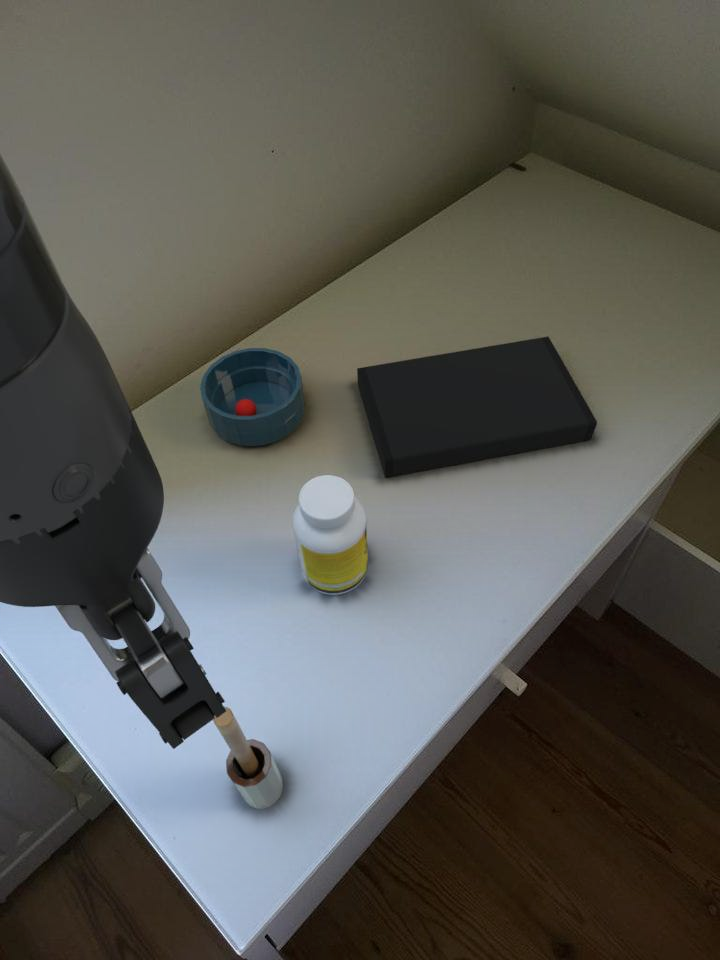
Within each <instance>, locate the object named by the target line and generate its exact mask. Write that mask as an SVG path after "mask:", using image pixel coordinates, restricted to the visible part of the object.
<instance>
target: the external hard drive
mask: <svg viewBox="0 0 720 960" xmlns="http://www.w3.org/2000/svg"><path fill="white" fill-rule="evenodd" d="M356 375H357V388H358V391H359V394H360V398H361V401H362V404H363V408H364V411H365V415H366V418H367V421H368V425H369V428H370V429H369V430H370V432H371V435H372V438H373V442H374V445H375V446H374V447H375V449H376V453H377V455H378V459H379V462H380V466H381V470H382V473H383V476H384V478H390V477H394V476H395V477H396V476H400V475H406V474H411V473H412V474H413V473H416V472H422V471H428V470H433V469H439V468H443V467H449V466H455V465H460V464H465V463H470V462H476V461H477V462H478V461H482V460H486V459H492V458H493V459H494V458H497V457H498V458H499V457H503V456H504V457H505V456H510V455H514V454H520V453H525V452H531V451H537V450H543V449H547V448H552V447H559V446H563V445H568V444H575V443H580V442H585V441H590V440H592V438H593V435H594V433H595V429H596V427H597V424H598V421H597V419H596V417H595V416H594V414H593V411H592V410H591V408H590V407H589V405H588V403H587V402H586V400H585V397H584V396H583V394H582V392H581V391H580V389H579V387H578V385H577V384H576V382H575V379H573V377H572V375H571V373H570V371H569V370H568V368H567V366H566V364H565V363H564V361H563V359H562V358H561V356H560V354H559V351H557V349H556V347H555V345H554V344H553V341H552V340H551V338H550V336H543V337H536V338H531V339H525V340H518V341H513V342H507V343H501V344H495V345H488V346H483V347H477V348H471V349H465V350H458V351H452V352H445V353H441V354H434V355H429V356H422V357H416V358H410V359H404V360H399V361H393V362H392V361H391V362H386V363H381V364H375V365H369V366H363V367H362V366H361V367H357V368H356Z"/></svg>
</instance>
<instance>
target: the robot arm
mask: <svg viewBox="0 0 720 960" xmlns="http://www.w3.org/2000/svg"><path fill="white" fill-rule="evenodd" d="M10 170H11V169H9V167H8V165H7V163H6V162H5V159H4V158H3V156H2V154H1V153H0V603H2V604H5V605H10V606H15V607H22V608H23V607H24V608H41V607H43V608H44V607H54V606H55V608H56V609H57V611H58V613H59V614H60V615H61V617H62V619H63V620H64V621H65V623H66V624H67V626H68V627H69V628H70V630H72V631H76V632H80V633H81V634H82V635H83V636H84V638H85V639H86V640H87V642H88V644H89V645H90V647H91V648H92V650H93V651H94V652H95V654H96V656H97V657H98V658H99V660H100V661H101V663H102V664H103V665H104V667H105V669H106V670H107V671H108V673H109V674H110V676H111V677H112V679H113V680H115V681H116V685H117V688H118V689H119V690H120V692H121V693H122V695H123V696H125V695H126V694H127V696H128V697H129V698H130V699H131V701H132V702H133V703H134V704H135V705H136V706H137V708H138V709H139V710H140V712H142V713H143V715H144V716H145V717H146V718H147V720H149V722H150V723H151V725H153V727H154V728H155V729H156V730H157V731H158V734H159V737H160V738H161V740H162V741H163V743H164V744H168V745H169V746H170V747H171V749H173V750H175V749H176V748H178V747H179V746H181V745H182V744H183V743H184V742H185V740H187V739H188V738H190V737H191V736H192V735H194V734H196V732H197V731H199V730H201V729H202V728H204V727H205V726H206V725H208V724H209V723H210V722H212V721H213V719H215V717H214V715H215V716H216V718H218V717H219V716H221V715H222V714H223V713H225V712H226V710H225V708H224V707H225V706H224V705H223V704H224V703H226V701H225V699H224V698H223V696H222V694H221V692H220V691H215V690H214V688H213V686H212V684H211V683H210V681H209V680H208V678H207V676H206V675H207V672H206V670H205V668H203V666H202V664H200V663H198V661H197V659H196V658H195V656H194V654H193V652H192V650H194V646H193V645H192V643H191V641H190V640H189V639H190V637H191V630H190V627H189V626H188V624H187V622H186V621H185V619H184V617H183V616H182V614H181V613H180V611H179V610H178V607H177V606H176V604H175V603H174V601H173V600H172V597H170V595H169V593H168V592H167V590H166V588H165V587H164V585H163V581H162V580H163V572H162V569H161V568H160V566H159V564H158V563H157V561H156V560H155V558H154V556H153V554H152V553H151V552H150V550H149V548H148V547H149V545H150V544H151V542H152V541H153V539H154V537H155V535H156V533H157V531H158V529H159V526H160V523H161V521H162V516H163V511H164V504H165V492H164V491H165V490H164V484H163V481H162V476H161V474H160V471H159V469H158V467H157V465H156V462H155V461H154V459H153V456H152V454H151V452H150V450H149V448H148V445H147V443H146V441H145V439H144V436H143V434H142V432H141V430H140V428H139V425H138V423H137V421H136V419H135V416H134V414H133V412H132V410H131V407H130V405H129V403H128V401H127V399H126V396H125V394H124V393H123V390H122V388H121V387H122V386H120V383H119V380H118V379H117V376H116V374H115V372H114V370H113V368H112V366H111V363H110V361H109V359H108V357H107V355H106V352H105V350H104V349H103V347H102V345H101V343H100V341H99V339H98V337H97V335H96V334H95V332H94V331H93V329H92V327H91V325H90V324H89V322H88V321H87V319H86V318H85V317H84V315H83V314H82V312H81V311H80V309H79V308H78V307H77V305H76V303H75V302H74V300H73V299H72V297H71V296H70V293H69V291H68V290H67V288H66V286H65V285H64V282H63V281H62V278H61V275H60V273H59V271H58V269H57V267H56V265H55V262H54V260H53V258H52V256H51V254H50V251H49V249H48V247H47V246H46V243H45V240H44V239H43V236H42V234H41V233H40V230H39V228H38V226H37V224H36V222H35V220H34V217H33V215H32V212H31V211H30V209H29V206H28V205H27V202H26V200H25V198H24V196H23V195H22V192H21V189H20V188H19V186H18V184H17V182H16V180H15V177H14V176H13V174H12V172H11V171H10ZM155 601H156V602H155ZM156 603H157V605H158V606H159V608H160V609H161V611H162V613H163V620H162V622H161V623H160V624H159V625H158V627H156V628H154V629H151V627H149V625H148V622H150V621H151V620H152V619H153V617H154V615H155V612H156ZM122 639H123V641H124V642H125V644H126V647H123V648H115V647H114V646H112V645H111V644H110V641H118V640H122Z"/></svg>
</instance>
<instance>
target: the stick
mask: <svg viewBox="0 0 720 960" xmlns="http://www.w3.org/2000/svg"><path fill="white" fill-rule="evenodd" d="M224 708H225V710H226V712H225V713H223V714H222V715H221V716H219V717H218V718H216V716H215V715H214V717H215V719H213V720H212V721H213V723H214V725H215V727H216V728H217V730H218V731H219V734H220V735H221V737H222V738H223V740H224V742H225V743H226V745H227V746H228V748H229V749H230V750H229V751H232V753H233V755H234V756H235V758H236V760H237V761H238V763H239V765H240V766H241V768H242V769H243V771H244V773H245V774H246V776H247V778H248V779H251V778H255V777H256V776H257V775H258V774H259V773H261V771H262V768H261V766H260V764H259V762H258V760H257V758H256V756H255V755H254V753H253V751H252V749H251V747H250V745H249V743H248V741H247V740H248V739H247V738H246V736H245V734H244V731H243V730H242V728H241V726H240V724H239V722H238V720H237V718H236V716H235V715H234V712H233V711H232V709H231V708H229V707H227V706H224Z"/></svg>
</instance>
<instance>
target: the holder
mask: <svg viewBox="0 0 720 960" xmlns="http://www.w3.org/2000/svg"><path fill="white" fill-rule="evenodd" d="M247 741H248V743H249V745H250V747H251V749H252V751H253V753H254V755H255V756H256V758H257V760H258V762H259V764H260V766H261V768H262V771H261V773H259V774H258V775H257V776H256V777H255V778H251V779H248V778H247V776H246V774H245V773H244V771H243V769H242V768H241V766H240V765H239V763H238V761H237V760H236V758H235V756H234V755H233V753H232V751H231V750H229V753H228V756H227V758H226V760H225V766H226V767H225V769H226V774H227V776H228V777H229V779H230V780H231V782H232V783H233V784H234V786H235V788H236V789H237V790H238V792H239V793H240V795H241V797H242V798H243V799H244V801H245V802H246V804H248V805H249V806H250V807H251V808H254V809H258V810H264V809H268V808H270V807H272V806H273V805H275V804H276V803H277V802H278V800H279V799H280V797H281V795H282V792H283V788H284V785H283V783H284V782H283V778H282V775H281V772H280V770H279V768H278V766H277V764H276V762H275V759H274V757H273V755H272V753H271V750H269V747H268V746H267V745H266V743H264V742H262V741H260V740H257V739H254V738H251V739H250V738H249V739H247Z"/></svg>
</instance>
